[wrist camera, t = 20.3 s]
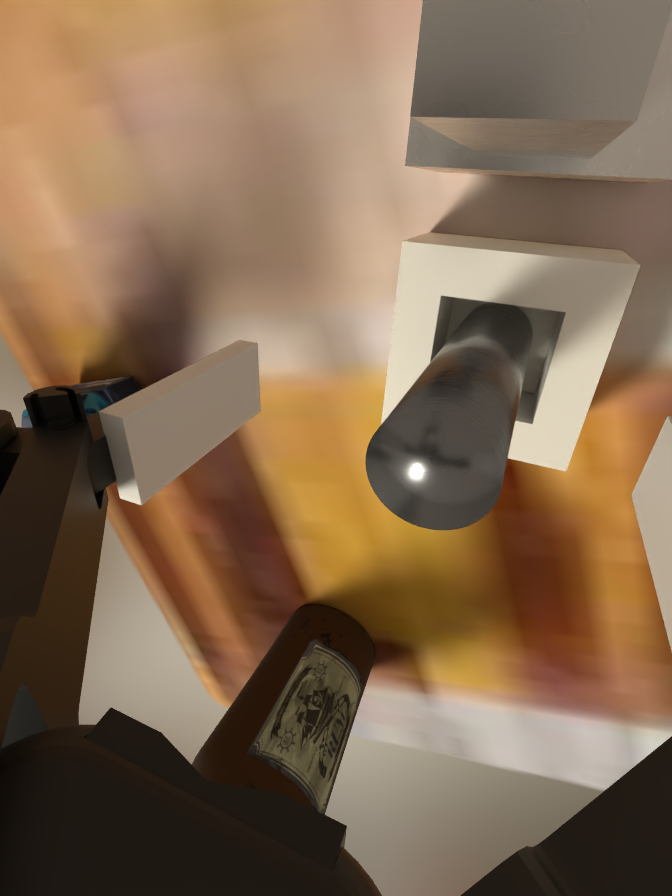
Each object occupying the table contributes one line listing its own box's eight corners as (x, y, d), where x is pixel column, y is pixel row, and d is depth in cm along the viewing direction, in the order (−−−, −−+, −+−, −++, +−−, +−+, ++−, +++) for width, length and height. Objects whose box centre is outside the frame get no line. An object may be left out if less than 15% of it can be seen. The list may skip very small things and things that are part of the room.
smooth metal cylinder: (466, 296, 26) (371, 397, 13) (541, 306, 25) (517, 428, 12) (453, 364, 28) (360, 509, 15) (522, 377, 27) (485, 546, 14)
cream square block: (429, 232, 27) (402, 241, 22) (622, 250, 24) (640, 265, 19) (406, 392, 32) (380, 428, 27) (563, 424, 29) (566, 471, 24)
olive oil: (336, 686, 50) (192, 1018, 30) (267, 620, 50) (72, 914, 29) (403, 660, 44) (280, 1055, 24) (326, 583, 44) (131, 924, 23)
